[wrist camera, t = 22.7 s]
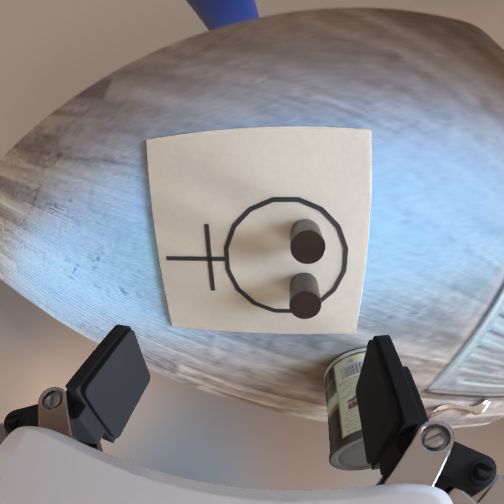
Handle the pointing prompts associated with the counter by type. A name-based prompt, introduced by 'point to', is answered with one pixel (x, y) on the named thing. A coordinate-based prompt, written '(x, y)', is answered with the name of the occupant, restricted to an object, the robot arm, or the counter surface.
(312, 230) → the dot
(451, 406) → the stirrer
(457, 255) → the counter surface
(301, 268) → the board
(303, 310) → the dot
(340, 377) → the coffee can
